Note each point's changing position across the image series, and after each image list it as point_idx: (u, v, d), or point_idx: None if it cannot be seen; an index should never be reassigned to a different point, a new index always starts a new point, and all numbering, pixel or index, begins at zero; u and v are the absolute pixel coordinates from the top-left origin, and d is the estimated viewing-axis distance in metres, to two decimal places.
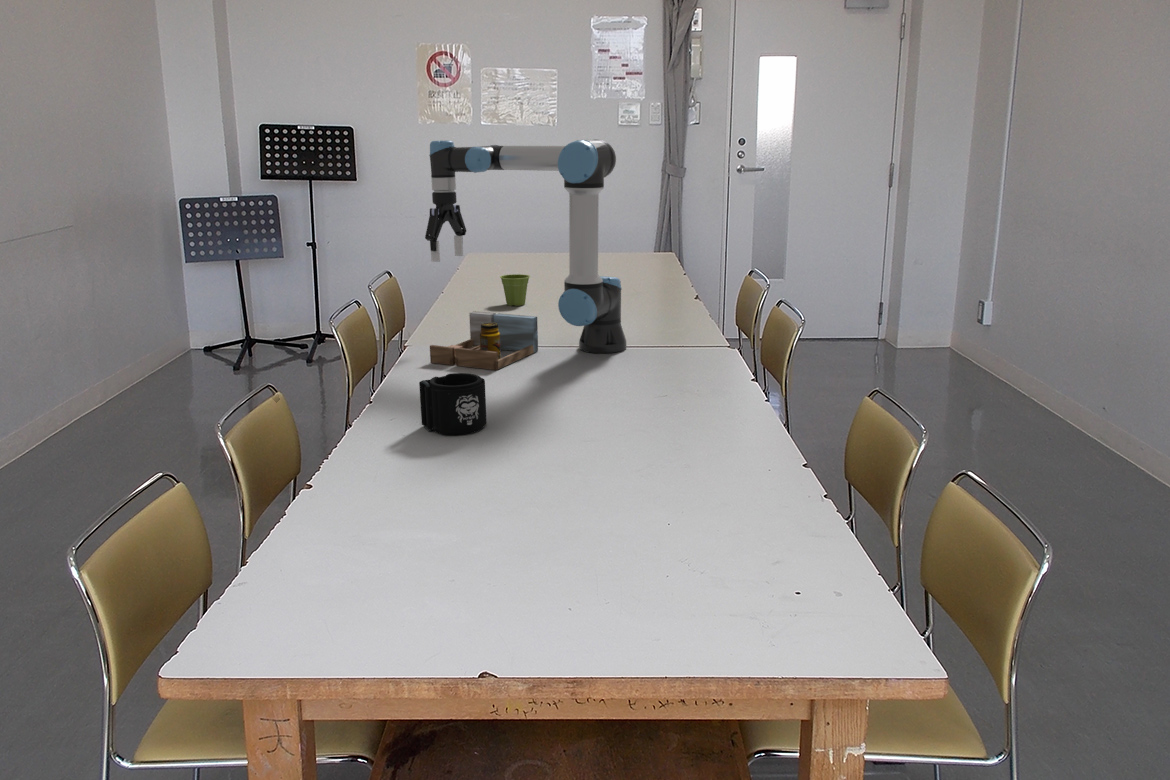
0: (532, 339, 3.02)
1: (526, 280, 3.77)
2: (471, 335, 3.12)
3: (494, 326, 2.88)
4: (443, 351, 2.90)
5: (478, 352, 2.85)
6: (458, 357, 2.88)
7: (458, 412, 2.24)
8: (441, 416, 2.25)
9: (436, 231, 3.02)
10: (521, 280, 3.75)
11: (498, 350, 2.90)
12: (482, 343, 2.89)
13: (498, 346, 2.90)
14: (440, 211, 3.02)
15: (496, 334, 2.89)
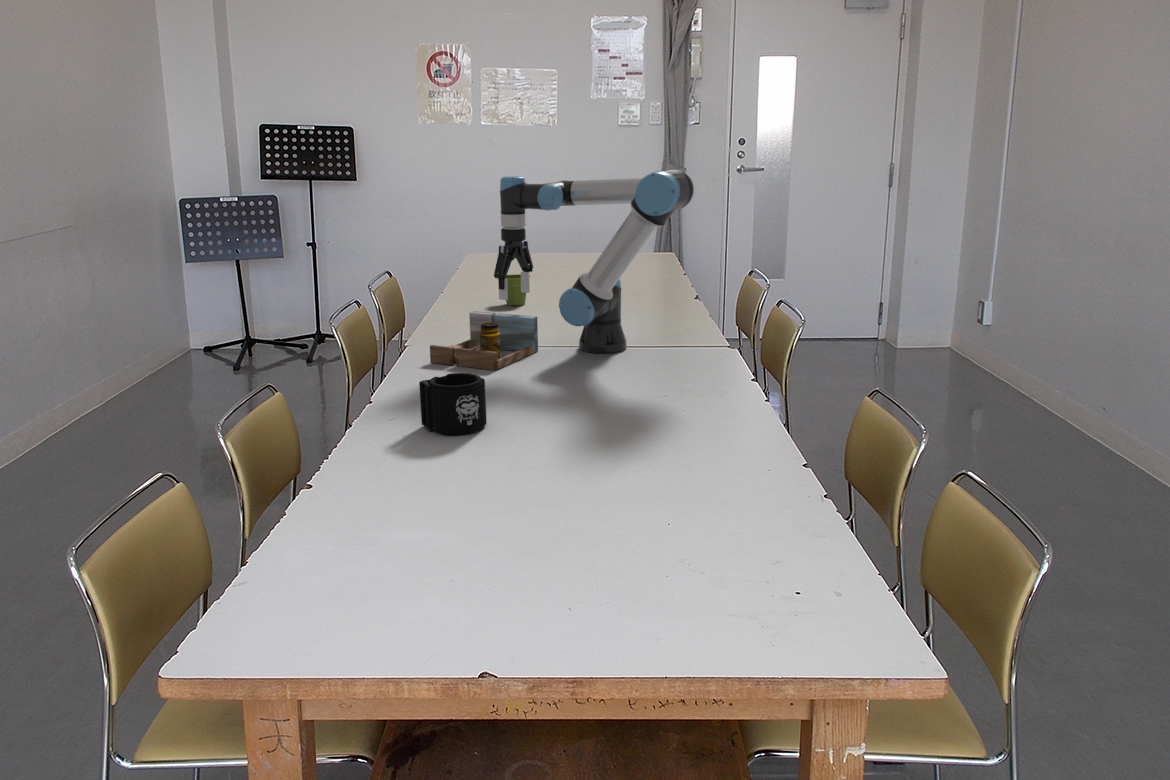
0: (532, 339, 3.02)
1: None
2: (471, 335, 3.12)
3: (494, 326, 2.88)
4: (443, 351, 2.90)
5: (478, 352, 2.85)
6: (458, 357, 2.88)
7: (458, 412, 2.24)
8: (441, 416, 2.25)
9: (505, 269, 2.95)
10: None
11: (498, 350, 2.90)
12: (482, 343, 2.89)
13: (498, 346, 2.90)
14: (509, 248, 2.95)
15: (496, 334, 2.89)
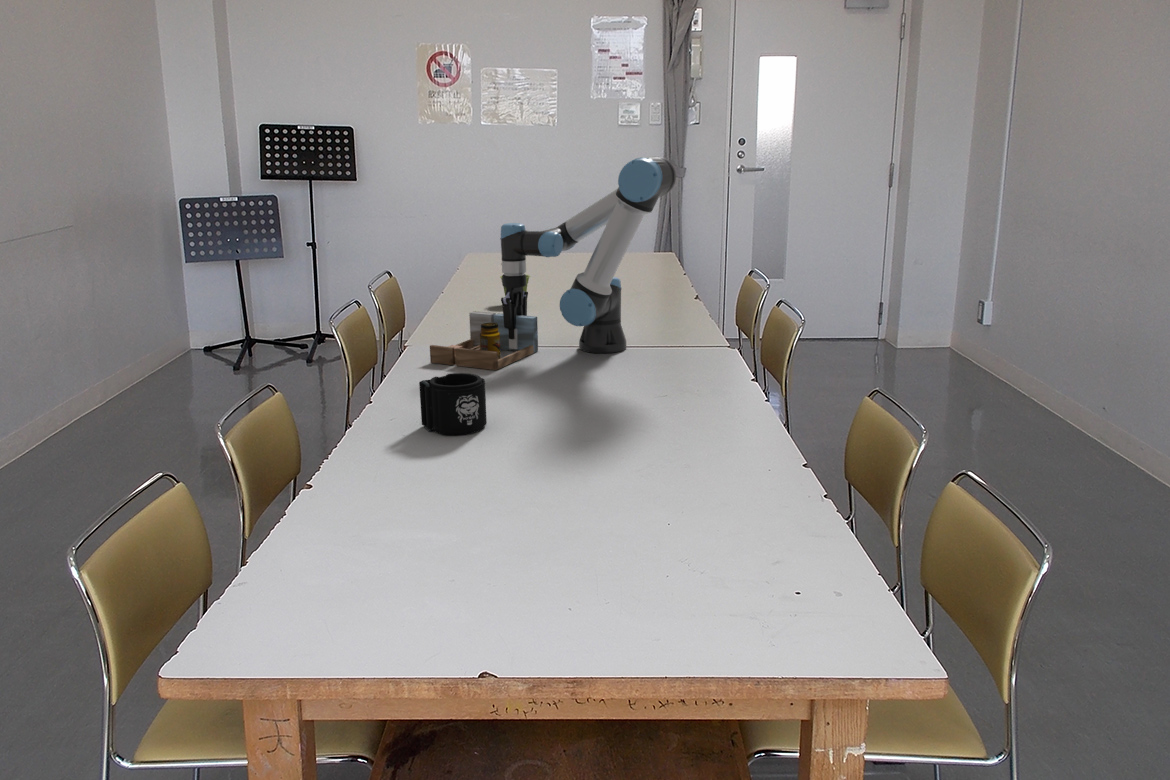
0: (532, 339, 3.02)
1: (526, 280, 3.77)
2: (471, 335, 3.12)
3: (494, 326, 2.88)
4: (443, 351, 2.90)
5: (478, 352, 2.85)
6: (458, 357, 2.88)
7: (458, 412, 2.24)
8: (441, 416, 2.25)
9: (512, 319, 3.02)
10: None
11: (498, 350, 2.90)
12: (482, 343, 2.89)
13: (498, 346, 2.90)
14: (511, 296, 2.99)
15: (496, 334, 2.89)
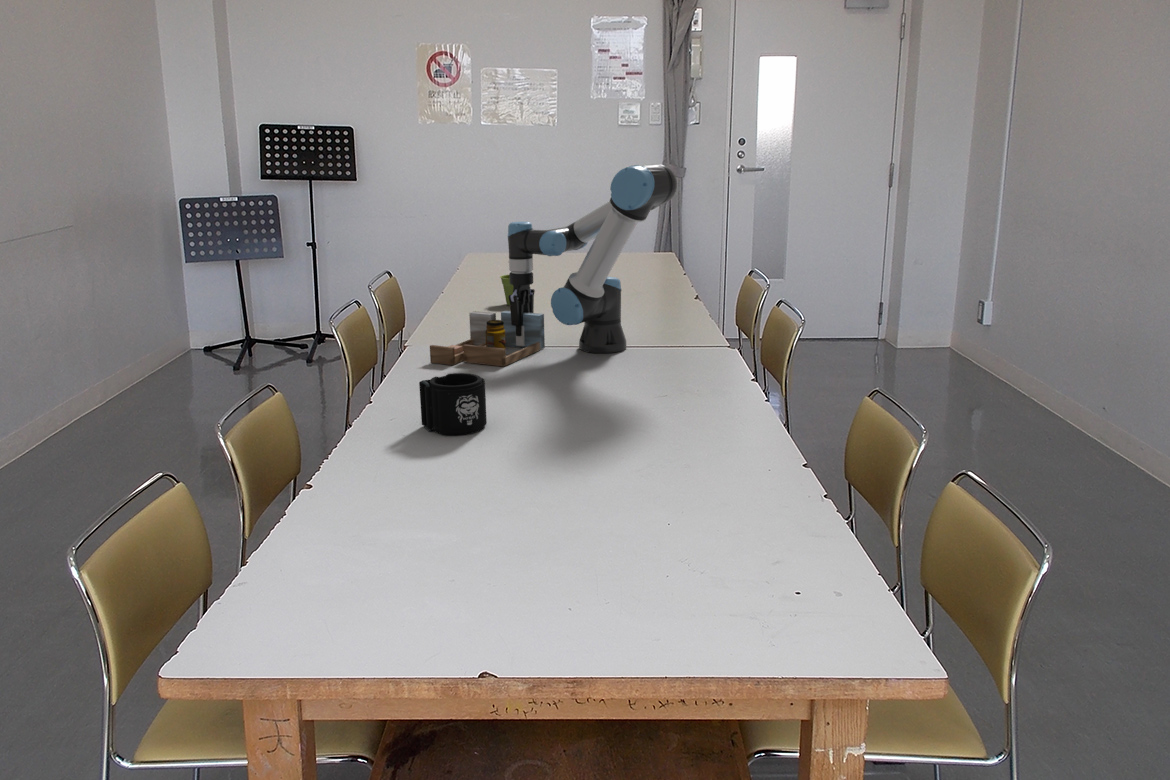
0: (539, 336, 3.06)
1: None
2: (471, 335, 3.12)
3: (500, 323, 2.92)
4: (443, 351, 2.90)
5: (486, 349, 2.89)
6: (466, 354, 2.92)
7: (458, 412, 2.24)
8: (441, 416, 2.25)
9: (520, 316, 3.06)
10: None
11: (504, 347, 2.94)
12: (488, 340, 2.93)
13: (504, 343, 2.94)
14: (518, 293, 3.03)
15: (502, 331, 2.92)
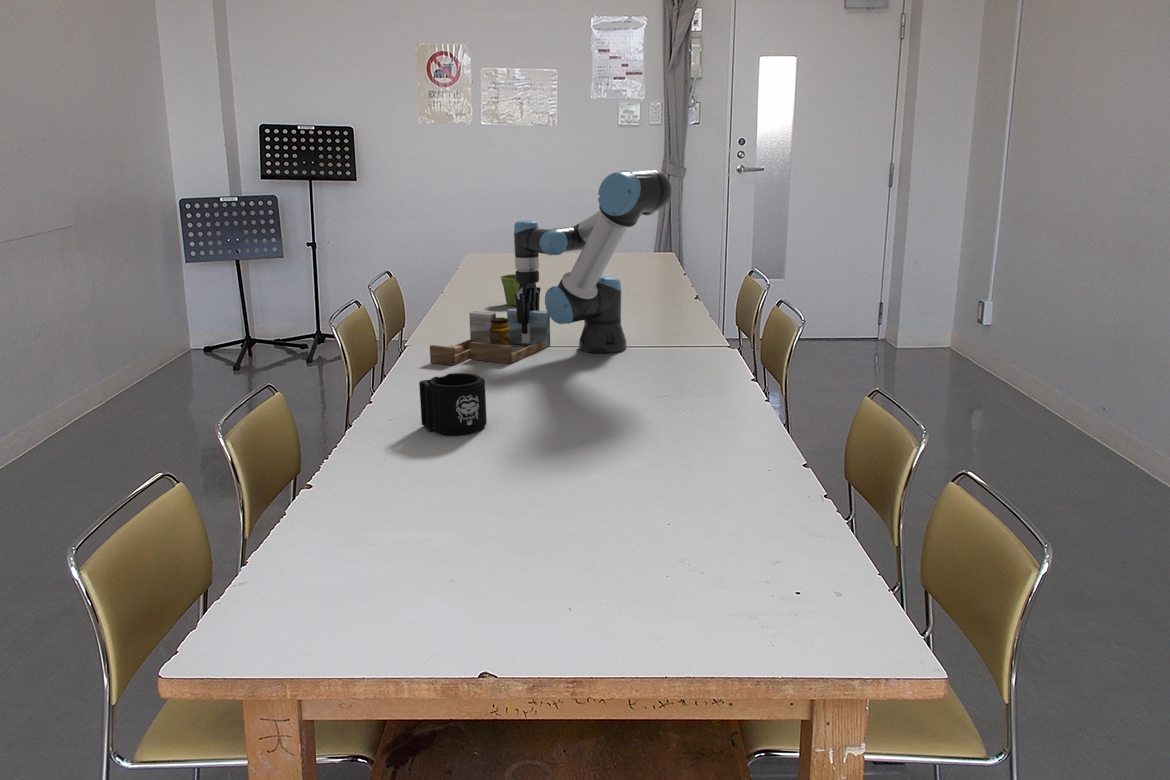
0: (545, 334, 3.10)
1: None
2: (471, 335, 3.12)
3: (505, 320, 2.95)
4: (443, 351, 2.90)
5: (493, 346, 2.92)
6: (473, 351, 2.95)
7: (458, 412, 2.24)
8: (441, 416, 2.25)
9: (525, 314, 3.09)
10: None
11: (508, 344, 2.98)
12: (493, 338, 2.96)
13: (508, 340, 2.98)
14: (524, 291, 3.06)
15: (507, 328, 2.96)
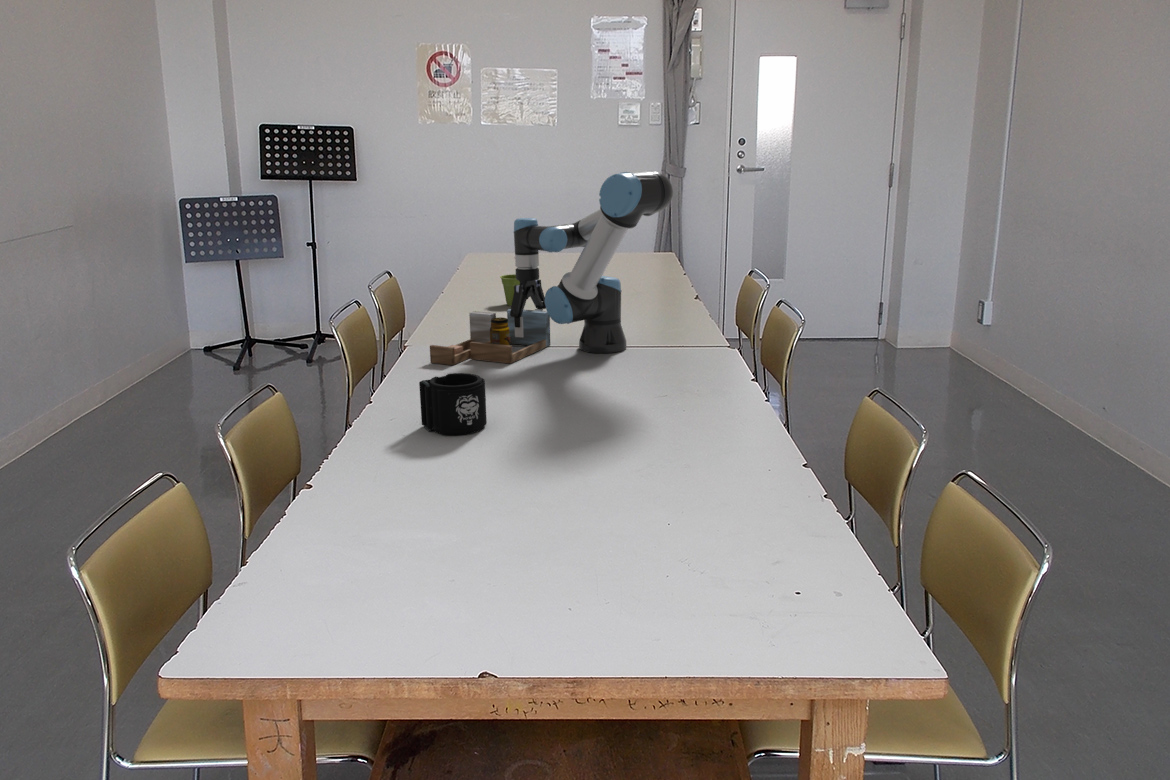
0: (545, 334, 3.10)
1: None
2: (471, 335, 3.12)
3: (505, 320, 2.96)
4: (443, 351, 2.90)
5: (493, 346, 2.92)
6: (473, 351, 2.95)
7: (458, 412, 2.24)
8: (441, 416, 2.25)
9: (520, 307, 3.05)
10: None
11: (508, 344, 2.98)
12: (493, 338, 2.96)
13: (508, 340, 2.98)
14: (524, 288, 3.06)
15: (507, 328, 2.96)
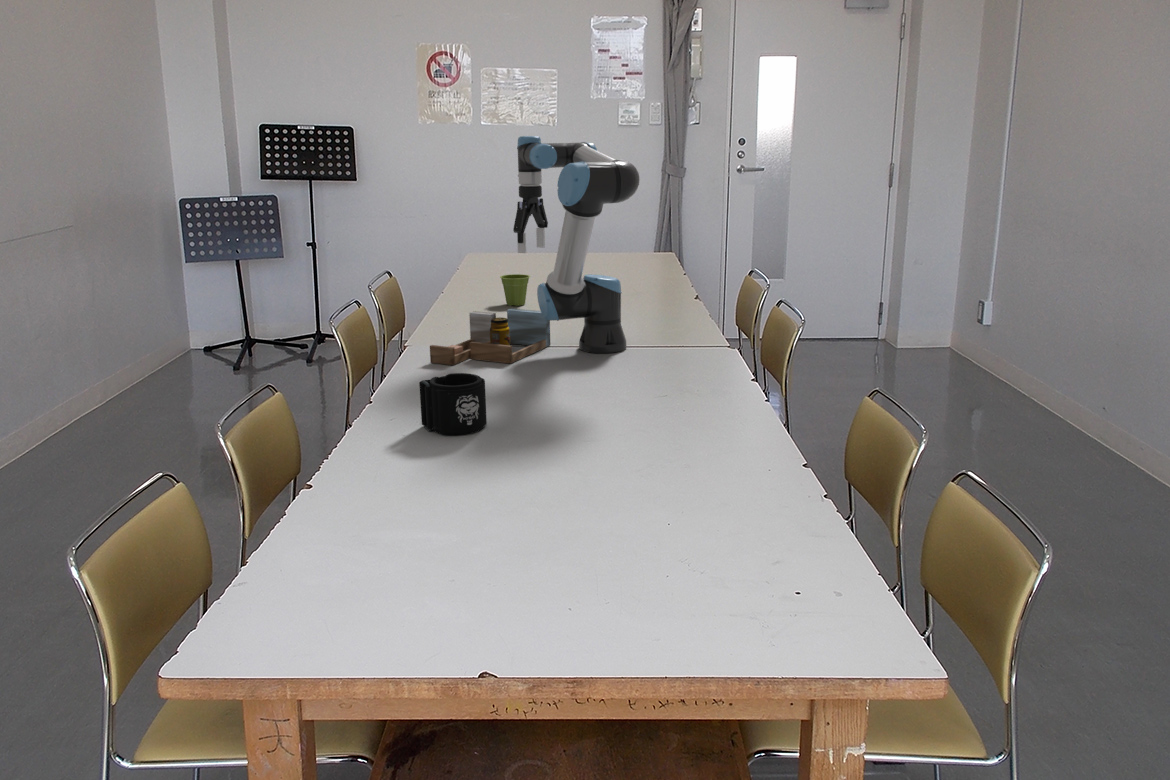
0: (545, 334, 3.10)
1: (526, 280, 3.77)
2: (471, 335, 3.12)
3: (505, 320, 2.96)
4: (443, 351, 2.90)
5: (493, 346, 2.92)
6: (473, 351, 2.95)
7: (458, 412, 2.24)
8: (441, 416, 2.25)
9: (523, 224, 3.13)
10: (521, 280, 3.75)
11: (508, 344, 2.98)
12: (493, 338, 2.96)
13: (508, 340, 2.98)
14: (527, 204, 3.13)
15: (507, 328, 2.96)
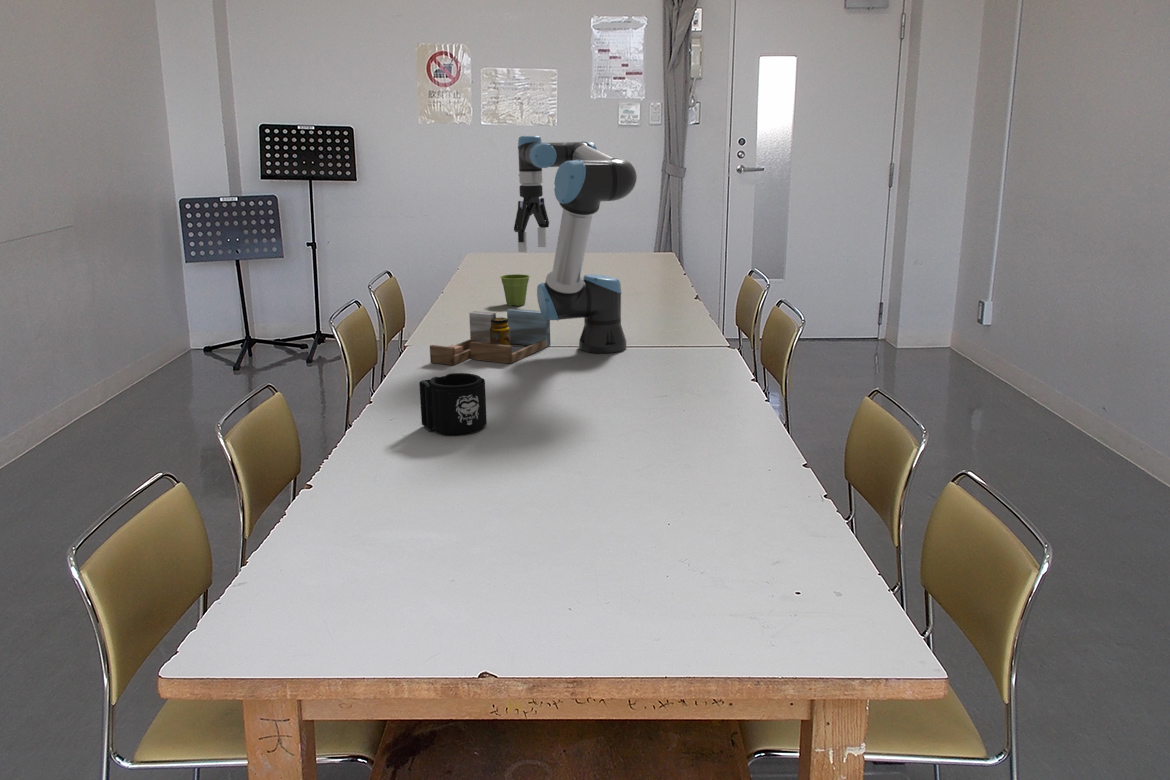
0: (545, 334, 3.10)
1: (526, 280, 3.77)
2: (471, 335, 3.12)
3: (505, 320, 2.96)
4: (443, 351, 2.90)
5: (493, 346, 2.92)
6: (473, 351, 2.95)
7: (458, 412, 2.24)
8: (441, 416, 2.25)
9: (524, 223, 3.14)
10: (521, 280, 3.75)
11: (508, 344, 2.98)
12: (493, 338, 2.96)
13: (508, 340, 2.98)
14: (527, 204, 3.15)
15: (507, 328, 2.96)
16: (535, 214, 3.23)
